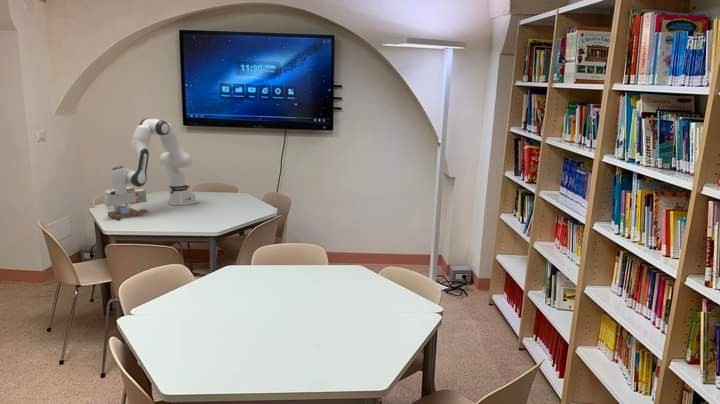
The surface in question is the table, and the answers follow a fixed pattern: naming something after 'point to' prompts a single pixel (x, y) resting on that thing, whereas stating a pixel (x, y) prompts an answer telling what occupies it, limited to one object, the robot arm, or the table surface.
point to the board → (120, 216)
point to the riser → (144, 210)
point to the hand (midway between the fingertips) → (121, 210)
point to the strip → (122, 209)
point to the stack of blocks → (139, 195)
